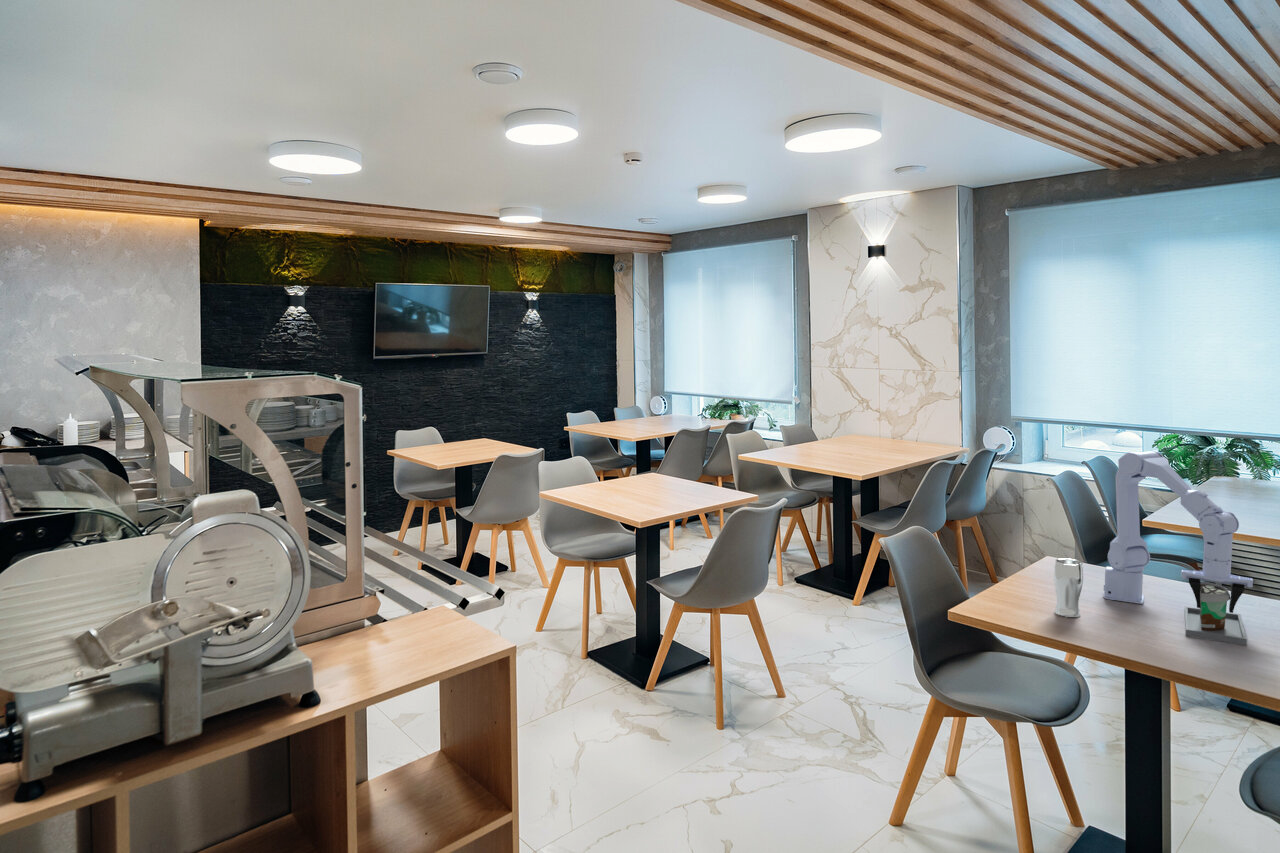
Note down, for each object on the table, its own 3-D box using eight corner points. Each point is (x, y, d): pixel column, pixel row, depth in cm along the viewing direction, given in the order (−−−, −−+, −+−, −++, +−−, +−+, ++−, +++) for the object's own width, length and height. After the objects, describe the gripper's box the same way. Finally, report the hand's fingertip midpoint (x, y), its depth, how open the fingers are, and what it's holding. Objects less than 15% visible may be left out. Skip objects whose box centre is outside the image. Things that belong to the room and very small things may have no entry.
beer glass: (1080, 611, 206) (1081, 559, 204) (1083, 619, 199) (1085, 566, 198) (1051, 608, 209) (1053, 557, 207) (1054, 616, 202) (1055, 563, 201)
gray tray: (1185, 635, 187) (1186, 629, 187) (1184, 612, 203) (1184, 606, 203) (1246, 645, 180) (1246, 639, 180) (1240, 620, 196) (1240, 614, 196)
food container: (1232, 635, 185) (1232, 596, 184) (1201, 631, 188) (1201, 593, 187) (1229, 620, 194) (1228, 583, 194) (1199, 617, 198) (1199, 580, 197)
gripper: (1182, 558, 191) (1180, 608, 192) (1255, 566, 182) (1252, 619, 184) (1182, 551, 196) (1180, 601, 198) (1252, 559, 188) (1249, 610, 189)
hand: (1214, 609), depth 191 cm, fingers closed on food container, 6 cm apart
